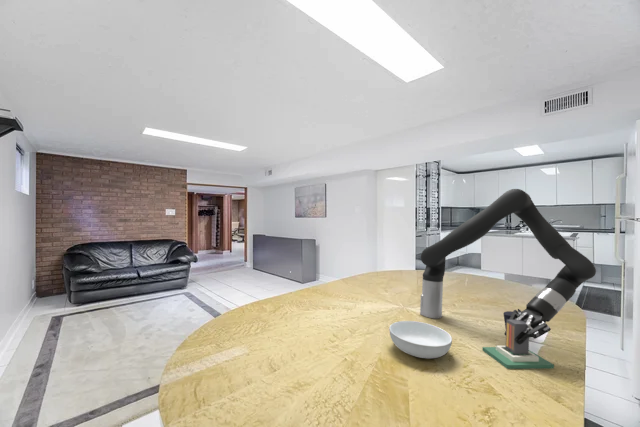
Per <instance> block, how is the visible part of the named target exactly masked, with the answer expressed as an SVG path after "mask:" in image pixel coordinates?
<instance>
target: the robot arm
mask: <svg viewBox="0 0 640 427" xmlns="http://www.w3.org/2000/svg"><path fill="white" fill-rule="evenodd" d="M511 214H514V215H515V216H516V217H518V218H519V219H520V220H521V221H522V222H523V223H524V224H525V225H526V226H527V228H529V230H530V231H531V233H532V235H533V236H534V237H535V239H536V241H537V243H538V244H540V246H541V247H542V248H543V249H544V251H546V253H547V254H548V255H549V256H550V257H551V258H552V259H554V260H559V261H560V262H561V263H563V265H564V266H563V267H562V268H561V269H560V270H559V272H558V273H557V274H556V275H555V277H554V278H553V279H551V280H550V281H549V283H547V284H546V286H545V287H543V288H542V289H541V290H539V291H537V292H538V293H536V295H534V296H533V297H532V298H531V300H530V301H529V302H527V303H526V305H525V307H526V308H525V309H524V310H521V311H522V312H518V309H514V310H513V311H512V312H513V313H512V315H511V317H510V319H509V320H522V321H524V322H526V328H525V329H524V330H523V332H521V333H520V334H519V335H518V336H517V337H516V338H515V341H516V342H517V343H518V344H519V345H520V344H522V343H523V342H524V341H525V340H526V339H527V338H529V339H530V338H533V340H534V339H535V340H536V339H538V338H540V337H541V336H543V335H545V334H546V333H548V332H550V331H552V328H550V326H549V325H548V324H547V323H548V322H550V321H551V320H552V319H553V318H554V317H555V316H556V315H557V314H558V313H559V312H560V311H561V310H562V309H563V308H564V306H565V305H566V303H567V302H568V301H569V300H570V299H571V298H572V297H573V296H574V295H575V294H576V290H577V289H578V288H579V287H580V286H581V285H582V284H584V282H586V281H588V280H590V279H592V278H594V277H595V275H596V273H597V270H596V269H597V268H596V267H595V265H594V263H593V262H592V261H591V260H590V259H589V258H588V257H587V256H585V255H583V253H581V252H580V251H578V250H577V249H575V248H574V247H572V246H571V244H570V243H569V242H568V241H567V240H566V239H565V237H563V236H562V234H561V233H560V232H559V231H558V230H557V229H555V227H553V225H551V224H550V222H549V221H547V219H545V217H544V216H543V215H542V214H541V212H540V211H539V210H538V208H537V207H536V205H535V203H534V202H533V200H532V198H531V196H530V194H528V193H527V192H526V191H524V190H523V189H519V188H512V189H508V190H507V191H505V192H504V193H502V194H501V195H500V196H499V197H498V198H496V199H495V200H494V201H493V202H492V203H491V204H489V205H488V206H487V207H485V208H484V209H483V210H481V211H479V212H477V213H476V214H475V215H473V216H471V217H470V218H469V219H467V220H465V221H464V222H463V223H461V224H460V225H458V226H457V227H456V228H455V229H453V230H452V231H450V232H449V233H448V234H447V235H446V236H444V237H443V238H441V239H440V240H439V241H437V242H435V243H434V244H431V245H430V246H428V247H426V248H424V249H423V250H422V252H421V253H420V261H421V262H422V264H423V265H424V266H425V269H424V271H423V272H422V286H421V287H422V288H421V294H420V306H419V307H420V309H419V310H420V311H419V315H422V316H423V317H425V318H430V319H441V318H442V316H443V294H444V293H443V290H444V289H443V288H444V276H445V274H446V273H445V272H446V262H447V261H446V259H447V258H446V257H448V256H449V255H450V254H452V253H454V252H456V251H458V250H461V249H463V248H465V247H468V246H470V245H471V244H473V243H474V242H475V243H476V242H477V241H479V240H480V239H481V238H483V237H485V235H486V234H487V233H488V232H490V231H491V230H492V228H493V227H494V226H495V225H496V224H497V223H499V222H501V221H502V219H504V218H506V217H509V215H511ZM504 336H506V330H505V332H504Z"/></svg>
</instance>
